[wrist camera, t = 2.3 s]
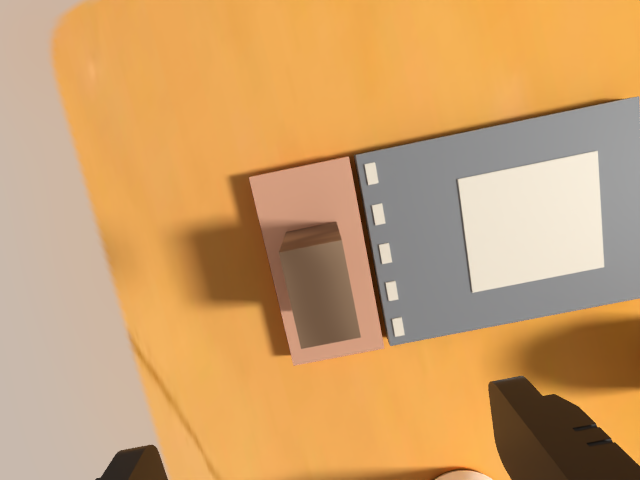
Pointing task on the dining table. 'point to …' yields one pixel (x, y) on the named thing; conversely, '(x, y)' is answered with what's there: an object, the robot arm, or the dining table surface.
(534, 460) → the robot arm
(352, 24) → the dining table surface
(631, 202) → the grey slab
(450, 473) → the can
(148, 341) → the dining table surface
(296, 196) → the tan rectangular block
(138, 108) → the dining table surface
